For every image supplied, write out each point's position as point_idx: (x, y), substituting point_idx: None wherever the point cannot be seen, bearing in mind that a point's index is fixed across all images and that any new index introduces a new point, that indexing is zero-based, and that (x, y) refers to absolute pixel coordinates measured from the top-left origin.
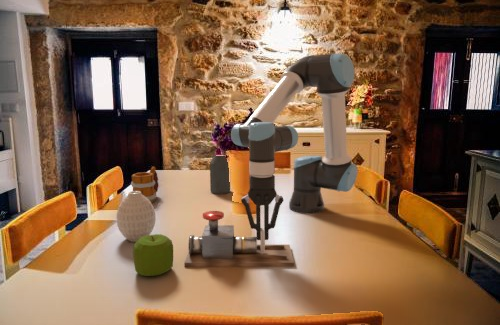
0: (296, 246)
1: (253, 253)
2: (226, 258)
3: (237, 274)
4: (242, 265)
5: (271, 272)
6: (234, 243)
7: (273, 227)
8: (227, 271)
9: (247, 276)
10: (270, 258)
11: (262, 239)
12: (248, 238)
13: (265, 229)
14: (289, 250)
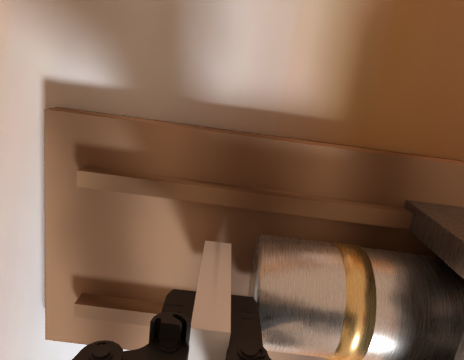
0: (14, 339)
1: None
2: (446, 206)
3: (397, 55)
4: (352, 147)
5: (197, 53)
6: (424, 282)
7: (94, 346)
8: (446, 100)
9: (345, 22)
10: (181, 179)
11: (216, 284)
12: (321, 314)
13: (180, 341)
14: (54, 269)
